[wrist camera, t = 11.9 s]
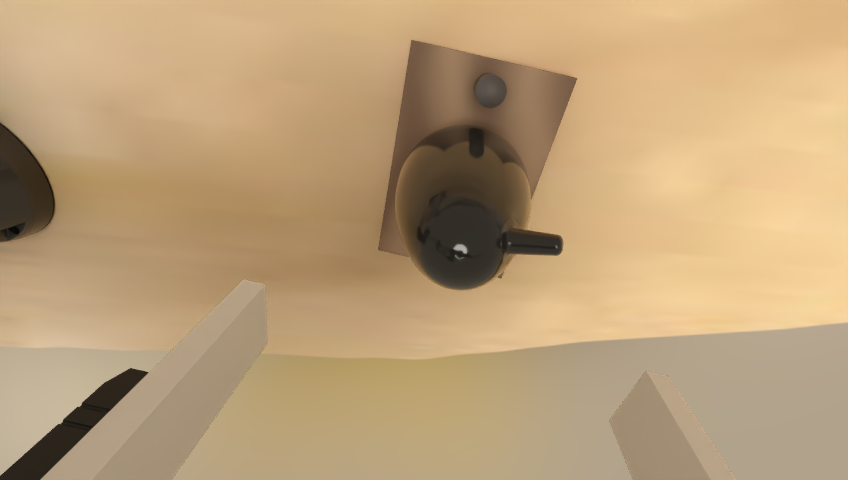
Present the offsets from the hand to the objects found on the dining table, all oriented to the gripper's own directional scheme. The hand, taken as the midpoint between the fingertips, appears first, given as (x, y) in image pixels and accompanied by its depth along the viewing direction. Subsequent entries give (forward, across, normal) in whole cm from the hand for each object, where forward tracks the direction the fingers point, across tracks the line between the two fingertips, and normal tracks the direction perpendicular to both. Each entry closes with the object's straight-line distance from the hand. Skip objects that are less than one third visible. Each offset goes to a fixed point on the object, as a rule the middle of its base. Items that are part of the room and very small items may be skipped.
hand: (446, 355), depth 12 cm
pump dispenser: (+21, +1, 0) cm, 21 cm away
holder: (+23, 0, 0) cm, 23 cm away
